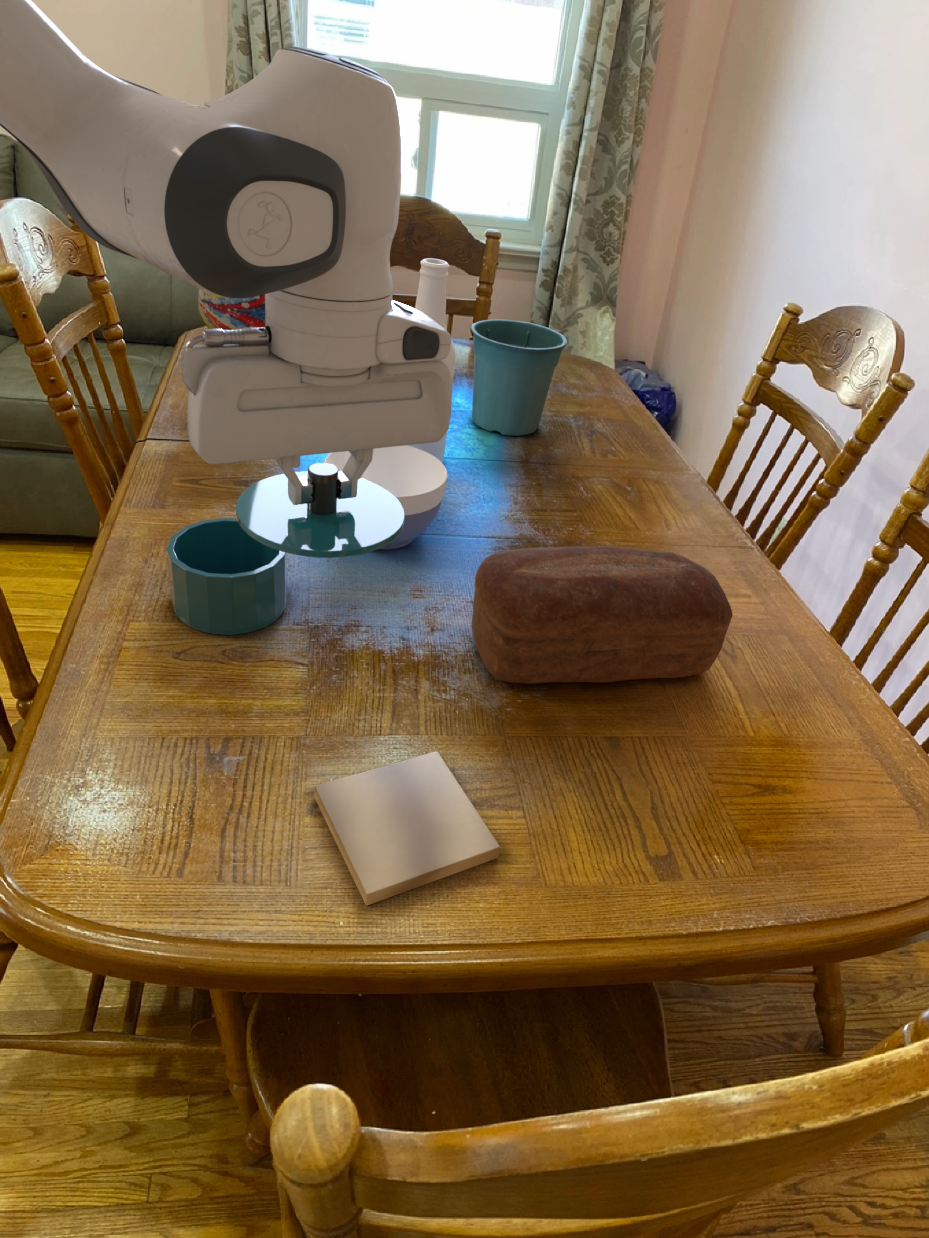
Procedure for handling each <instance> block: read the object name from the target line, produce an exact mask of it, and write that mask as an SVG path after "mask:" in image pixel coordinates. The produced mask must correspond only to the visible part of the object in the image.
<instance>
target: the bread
mask: <svg viewBox="0 0 929 1238" xmlns="http://www.w3.org/2000/svg"><path fill="white" fill-rule="evenodd" d="M479 564H480V565H479V566H478V567H477V570H476V572H475V576H474V595H473V603H472V618H471V625H470V627H471V631H472V636H473V640H474V643H475V647H476V650H477V652H478V654H479V657H480V658H481V661H482V663H483V665H484V666H485V669H486V670H487V671H488V672H489V673H490V674H491V676H493V677H494V678H495V679H496V680H497V681H502V682H505V683H513V684H524V685H525V684H526V685H538V684H551V683H552V684H553V683H615V682H622V681H630V680H642V679H643V680H644V679H679V678H685V677H690V676H691V677H692V676H694V675H700V674H703V673H705V672H707V671H710V669H711V667H712V666H713V664H714V663H715V661H716V660H717V658H718V657H719V654H720V652H721V651H722V648H723V645H724V641H725V638H726V635H727V632H728V630H729V627H730V624H731V622H732V618H733V615H734V614H733V610H732V606H731V604H730V602H729V599H728V598H727V596H726V593H725V591H724V589H723V587H722V585H721V584H720V582H719V580H718V579H717V577H716V576H715V575H714V574H713V573H712V572H710V570H709V569H707V568H706V567H705V566H703V565H701V564H699V563H697V562H695V561H693V560H691V559H689V558H687V557H685V556H683V555H680V554H677V553H674V552H670V551H662V550H653V549H651V550H650V549H642V548H636V547H623V546H575V545H574V546H573V545H572V546H545V547H544V546H543V547H542V546H541V547H525V548H517V549H510V550H504V551H499V552H495V553H493V554H490V555H488V556H486V557H485V558H484V559H483V560H482V561H481V562H480V563H479Z"/></svg>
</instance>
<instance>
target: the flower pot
mask: <svg viewBox="0 0 929 1238" xmlns="http://www.w3.org/2000/svg"><path fill="white" fill-rule="evenodd" d="M470 329H471V333H472V334H473V344H472V352H473V354H474V362H473V363H474V365H473V387H472V404H471V405H472V407H471V419H472V421H473V423H474V424H475V425H477V426H478V427H479V428H482V430H485V431H488V432H493V431H496V432H498V433H500V434H501V435H504V436H514V437H519V436H526V435H530V434H533V433H535V432H537V431H536V430H537V429H538V427H539V426H540V423H541V420H542V415H543V411H544V408H545V405H546V401H547V397H548V394H549V392H550V391H549V390H550V387H551V384H552V379H553V376H554V373H555V370H556V367H557V366H558V364H559V362H560V358H561V356H562V355H561V354H562V351H563V348H565V347H566V345H567V344H568V339H567V338H566V337H565V336H564V334H562V333H560V332H559V331H557V330H554V329H552V328H550V327H547V326H544V325H540V324H536V323H532V322H528V321H520V320H514V319H513V320H512V319H485V320H478V321H476V322H474V323H473V324H471V326H470Z"/></svg>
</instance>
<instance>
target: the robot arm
mask: <svg viewBox="0 0 929 1238" xmlns="http://www.w3.org/2000/svg"><path fill="white" fill-rule="evenodd" d="M203 105H204V106H201V105H197V104H194V103H191V102H190V103H189V102H187V101H183V100H179V99H176V98H172V97H169V96H166V95H163V94H161V93H159V92H157V91H155V90H153V89H150V88H147V87H145V86H142V85H140V84H138V83H135V82H132V81H129V80H127V79H124V78H122V77H118V76H116V75H114V74H111V73H110V72H108V71H106V70H104V69H103V68H101V67H99V65H97V64H96V63H94V62H93V61H92V60H90V59H89V57H87V56H86V55H85V54H84V53H83V51H81V50H80V49H79V48H78V47H77V46H76V45H75V44H74V43H73V42H72V41H71V39H70V38H69V37H68V36H67V35H66V34H65V33H63V31H62V30H61V29H60V28H59V27H58V26H57V25H56V24H55V23H54V21H52V20H51V19H50V18H49V17H48V15H47V14H46V13H44V11H42V9H41V8H40V7H39V6H38V5H37V4H36V3H35V2H34V1H33V0H0V127H1V128H2V129H4V130H5V131H6V132H7V133H8V134H9V135H11V136H12V137H13V138H14V139H15V140H16V141H17V142H18V143H19V144H20V145H21V146H22V148H23V149H24V150H25V151H26V152H27V153H28V155H29V156H30V157H31V158H32V160H33V161H34V162H35V164H36V166H37V167H38V168H39V170H40V171H41V173H42V174H43V176H44V178H45V179H46V181H47V183H48V185H49V186H50V189H52V191H53V193H54V195H55V196H56V198H57V199H58V201H59V203H60V204H61V206H62V207H63V209H64V210H65V211H66V213H67V214H68V216H69V217H70V219H71V220H72V221H73V222H74V224H76V226H77V227H78V228H79V229H80V230H81V231H82V232H83V233H85V235H87V236H88V237H89V238H90V239H92V240H93V241H95V242H96V243H98V244H99V245H101V246H103V247H105V248H107V249H109V250H111V251H113V252H117V253H120V254H122V255H126V256H128V257H130V258H134V259H137V260H140V261H142V262H144V263H146V264H147V265H150V266H152V267H154V268H155V269H158V270H160V271H162V272H164V273H166V274H167V275H169V276H172V277H174V278H176V279H177V280H180V281H182V282H184V283H186V284H188V285H190V286H193V287H194V288H197V289H198V290H199V289H201V290H203V291H206V292H208V293H211V294H214V295H219V296H224V297H229V298H250V297H256V296H260V295H264V294H265V327H251V328H239V329H233V330H232V329H230V330H222V329H219V328H212V329H208V328H206V329H203V330H202V331H201V334H199V335H197V336H195V337H192V338H191V339H190V340H188V341H187V342H186V344H185V345H184V347H183V348H182V351H181V357H180V361H181V362H180V363H181V375H182V381H183V383H184V386H185V387H186V389H187V390H188V396H187V397H188V398H187V413H186V421H187V422H186V427H187V428H186V430H187V438H188V441H189V443H190V446H191V447H192V449H193V450H194V452H195V453H196V454H197V455H198V456H199V457H200V458H201V459H202V460H203V461H204V462H205V463H207V464H209V465H223V464H232V463H243V462H252V461H253V462H254V461H261V460H272V459H274V460H275V462H276V463H277V465H278V467H279V468H280V469H281V471H282V472H283V473H282V474H285V476H286V477H287V478H288V496H289V499H290V501H291V502H292V503H293V505H300V504H307V503H312V501H313V497H312V496H311V494H312V493H313V484H312V483H311V482H310V481H308V478H307V477H306V476H305V475H303V476H297V475H296V473H295V472H296V471H295V469H296V468H300V466H301V457H302V456H311V455H321V454H322V455H323V454H329V453H334V452H344V451H349V452H350V453H351V455H350V457H349V459H348V461H347V463H346V464H345V466H344V468H343V470H342V471H338V493H337V498H338V499H346V498H354V497H356V496H357V484H358V479H360V477H361V476H362V474H363V473H364V472H365V470H366V469H367V467H368V466H369V464H370V463H371V461H372V457H373V449H374V448H384V447H394V446H404V445H414V444H424V443H435V442H438V441H439V440H440V439H441V438H442V437H443V436H444V434H445V433H446V432H447V433H448V430H449V427H450V424H451V423H450V422H451V415H452V403H453V385H452V376H451V371H450V369H449V367H448V365H447V364H446V362H444V361H443V360H442V359H445V358H446V357H447V356H448V354H449V352H450V348H451V339H452V335H451V333H449V331H448V330H447V329H446V330H447V331H446V330H445V329H444V328H443V327H442V326H440V325H439V324H438V323H437V322H435V321H434V320H433V319H431V318H430V317H428V316H426V315H425V314H423V313H421V312H420V311H418V310H416V309H415V307H412V306H409V305H407V304H404V303H402V302H399V301H396V300H393V295H394V278H393V274H392V273H393V272H392V268H391V248H392V244H393V241H394V238H395V235H396V232H397V230H398V225H399V217H400V203H401V189H402V188H401V187H402V170H403V169H402V167H403V166H402V165H403V162H402V160H403V158H402V157H403V147H402V127H401V117H400V110H399V104H398V100H397V96H396V93H395V91H394V88H393V87H392V85H391V84H390V83H389V82H388V81H387V80H386V79H385V78H384V76H383V75H382V74H380V73H379V72H377V71H375V70H374V69H372V68H370V67H369V66H366V65H363V64H361V63H360V62H357V61H354V60H351V59H348V58H345V57H342V56H340V57H339V56H335V55H332V54H329V53H328V52H325V51H323V50H319V49H313V48H311V47H310V48H309V47H302V46H287V47H281V48H279V49H277V50H276V51H275V53H274V56H273V57H272V60H271V62H269V64H268V65H267V66H266V67H265V68H264V69H263V70H261V72H259V73H258V74H257V75H256V76H255V77H253V78H252V79H251V80H249V81H248V82H246V83H245V84H244V85H241V86H240V87H238V88H237V89H235V90H232V91H231V92H229V93H226V94H225V95H223V96H220V97H217V98H216V99H212V100H209V101H206V102H204V103H203ZM201 342H202V344H199V343H201Z"/></svg>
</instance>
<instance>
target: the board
mask: <svg viewBox="0 0 929 1238" xmlns="http://www.w3.org/2000/svg"><path fill="white" fill-rule="evenodd" d="M313 790H314V791H313V792H314V793H313V797H314V800H315V802H316V804H317V806H318V808H319V811H320V813H321V815H322V817H323V818H324V821H325V823H326V825H327V827H328V829H329V831H330V833H331V835H332V838H333V839H334V842H335V843H336V846H337V848H338V850H339V853H340V854H341V856H342V859H343V861H344V862H345V864H346V867H347V869H348V871H349V873H350V876H351V878H352V880H353V882H354V883H355V886H356V888H357V891H358V892H359V894H360V896H361V898H362V900H363V903H364V904H365V906H370V905H372V904H376V903H378V902H381V901H383V900H386V899H390V898H391V897H394V896H398V895H400V894H403V893H406V892H408V891H411V890H414V889H416V888H419V887H422V886H425V885H428V884H430V883H433V882H435V881H439V880H441V879H444V878H446V877H449V876H452V875H455V874H458V873H461V872H463V871H466V870H469V869H471V868H475V867H477V866H479V865H482V864H485V863H489V862H490V861H494V860H497V859H498V858H499V855H500V850H501V846H500V844H499V843H498V841H497V840H496V838H495V836H494V835H493V834H492V831H491V830H490V829H489V827H488V826H487V824H486V823H485V821H484V820H483V818H482V817H481V815H480V814H479V812H478V810H477V809H476V808H475V806H474V804H473V802H472V801H471V800H470V798H469V797H468V795H467V794H466V791H464V789H463V788H462V786H461V785H460V783H459V782H458V780H457V778H456V777H455V775H454V774H453V772H452V771H451V770H450V768H449V767H448V765H447V763H446V762H445V760H444V759H443V757H442V756H441V754H440V753H439V751H438V750H435V751H432V752H428V753H425V754H421V755H418V756H413V757H410V758H407V759H403V760H399V761H397V762H393V763H389V764H386V765H383V766H379V767H376V768H372V769H368V770H365V771H362V772H361V771H360V772H357V773H354V774H351V775H348V776H344V777H340V778H337V779H333V780H330V781H326V782H322V783H318V784H316V785H314V789H313Z"/></svg>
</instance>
